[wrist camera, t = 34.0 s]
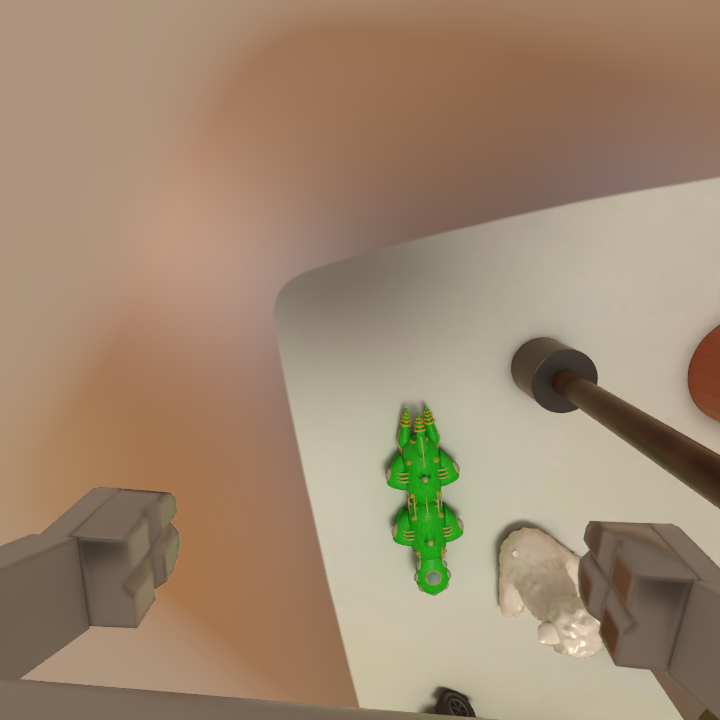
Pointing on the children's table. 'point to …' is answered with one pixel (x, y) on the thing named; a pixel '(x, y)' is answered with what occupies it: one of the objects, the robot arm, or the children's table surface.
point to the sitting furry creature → (546, 591)
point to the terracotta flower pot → (706, 375)
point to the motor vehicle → (454, 705)
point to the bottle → (682, 698)
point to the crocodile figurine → (424, 500)
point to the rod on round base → (612, 412)
